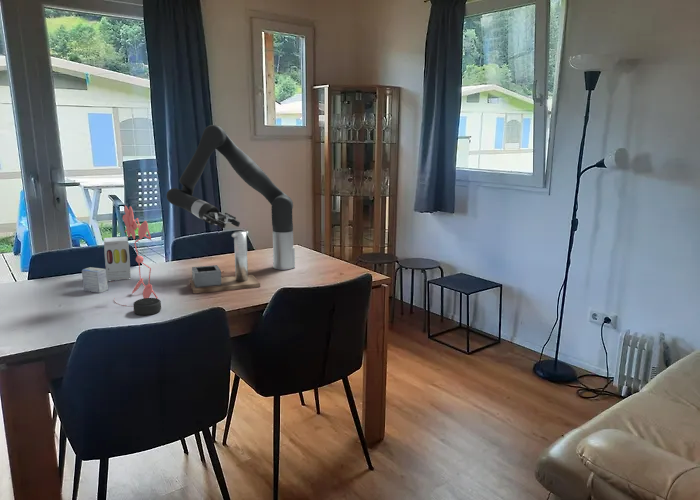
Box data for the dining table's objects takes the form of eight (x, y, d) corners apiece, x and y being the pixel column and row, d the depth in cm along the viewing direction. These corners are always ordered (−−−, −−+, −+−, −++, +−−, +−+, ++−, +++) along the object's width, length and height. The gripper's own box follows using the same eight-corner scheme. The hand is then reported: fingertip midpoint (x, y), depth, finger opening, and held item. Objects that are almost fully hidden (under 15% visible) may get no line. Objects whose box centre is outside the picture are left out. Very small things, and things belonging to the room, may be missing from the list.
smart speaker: (157, 316, 179) (156, 305, 178) (130, 316, 178) (129, 305, 177) (164, 307, 187) (163, 296, 186) (138, 308, 186) (137, 297, 186)
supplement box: (106, 281, 218) (102, 241, 214) (106, 276, 226) (103, 237, 222) (131, 279, 222) (128, 240, 218) (130, 273, 230) (127, 236, 226)
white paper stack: (108, 290, 206) (106, 268, 204) (99, 293, 202) (97, 271, 200) (92, 288, 209) (90, 266, 207) (83, 291, 205) (81, 269, 203)
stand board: (252, 278, 225) (252, 274, 225) (260, 286, 213) (260, 283, 213) (189, 283, 216) (189, 280, 216) (193, 293, 203) (193, 289, 203)
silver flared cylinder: (245, 277, 221) (244, 230, 217) (253, 279, 218) (252, 231, 214) (229, 281, 215) (227, 233, 210) (237, 283, 212) (236, 234, 208)
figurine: (144, 286, 211) (135, 199, 203) (167, 303, 191) (158, 208, 183) (103, 294, 202) (92, 203, 193) (123, 312, 182) (112, 212, 174)
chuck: (217, 279, 218) (217, 265, 216) (221, 285, 209) (220, 270, 207) (192, 281, 214) (191, 267, 213) (195, 288, 205) (194, 273, 204)
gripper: (194, 203, 219) (222, 217, 212) (218, 202, 231) (245, 216, 224) (190, 220, 221) (217, 234, 214) (214, 218, 233) (241, 232, 226)
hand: (232, 225), depth 219 cm, fingers open, 8 cm apart
